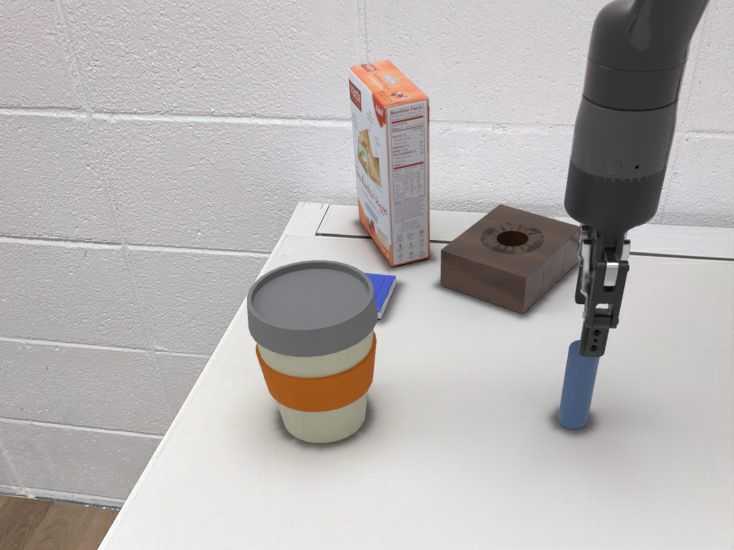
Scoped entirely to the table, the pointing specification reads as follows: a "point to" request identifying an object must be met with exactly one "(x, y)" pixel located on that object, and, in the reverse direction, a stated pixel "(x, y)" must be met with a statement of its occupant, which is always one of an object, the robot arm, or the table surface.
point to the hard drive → (382, 290)
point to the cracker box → (391, 160)
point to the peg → (577, 388)
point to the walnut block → (510, 257)
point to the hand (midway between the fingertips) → (588, 327)
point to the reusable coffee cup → (316, 345)
